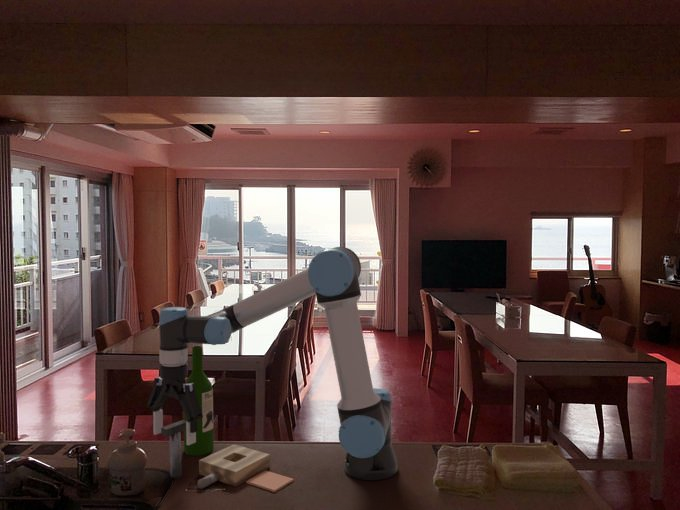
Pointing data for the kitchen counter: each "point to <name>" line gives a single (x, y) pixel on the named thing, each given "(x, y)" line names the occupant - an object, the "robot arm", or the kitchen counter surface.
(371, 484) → the kitchen counter surface
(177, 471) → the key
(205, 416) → the wine bottle
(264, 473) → the mat
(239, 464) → the jig
